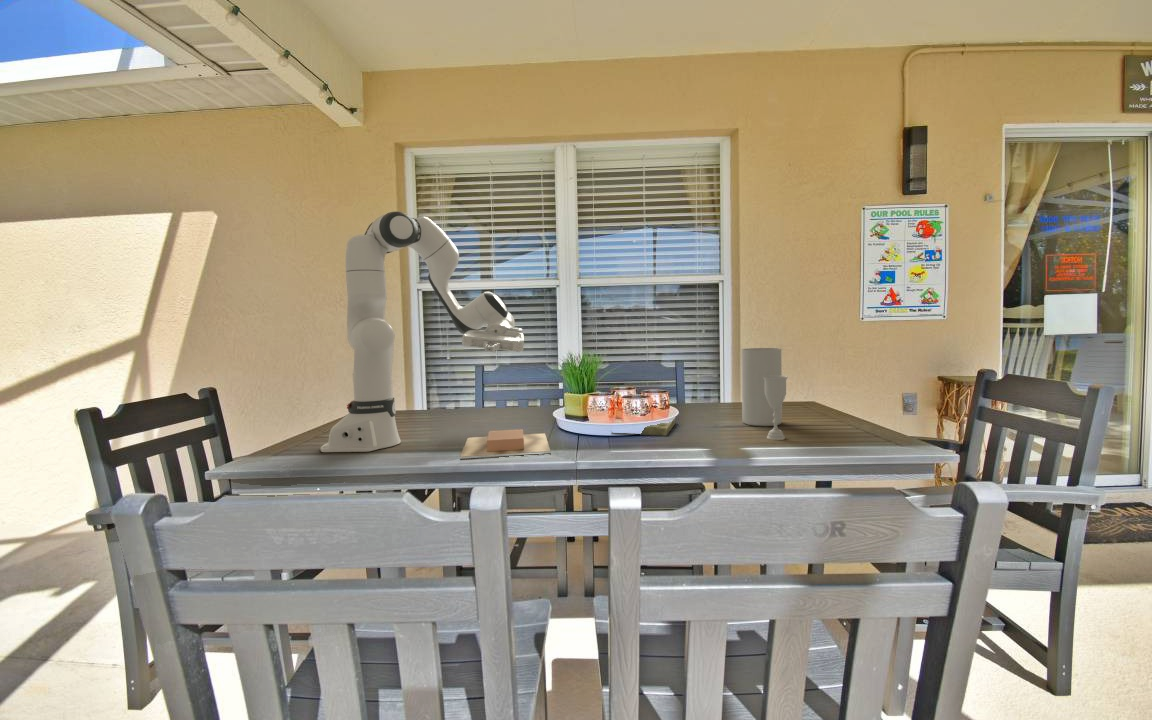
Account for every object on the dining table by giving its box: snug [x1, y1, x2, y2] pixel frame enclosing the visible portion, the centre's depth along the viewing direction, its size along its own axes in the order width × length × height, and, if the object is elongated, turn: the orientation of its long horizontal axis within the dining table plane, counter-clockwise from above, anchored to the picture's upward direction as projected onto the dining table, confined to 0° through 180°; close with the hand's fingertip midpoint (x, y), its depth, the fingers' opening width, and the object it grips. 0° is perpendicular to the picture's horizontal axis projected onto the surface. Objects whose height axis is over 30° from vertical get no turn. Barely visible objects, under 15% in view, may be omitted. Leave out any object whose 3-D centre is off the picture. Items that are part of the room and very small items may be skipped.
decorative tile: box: [640, 417, 676, 437], centre depth 168 cm, size 19×20×4 cm
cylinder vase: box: [740, 347, 783, 427], centre depth 169 cm, size 12×12×25 cm
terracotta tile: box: [487, 428, 524, 451], centre depth 145 cm, size 10×3×13 cm
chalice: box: [763, 375, 789, 441], centre depth 147 cm, size 7×7×18 cm
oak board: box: [459, 433, 551, 461], centre depth 147 cm, size 24×24×1 cm
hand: (489, 349), depth 160 cm, fingers closed
